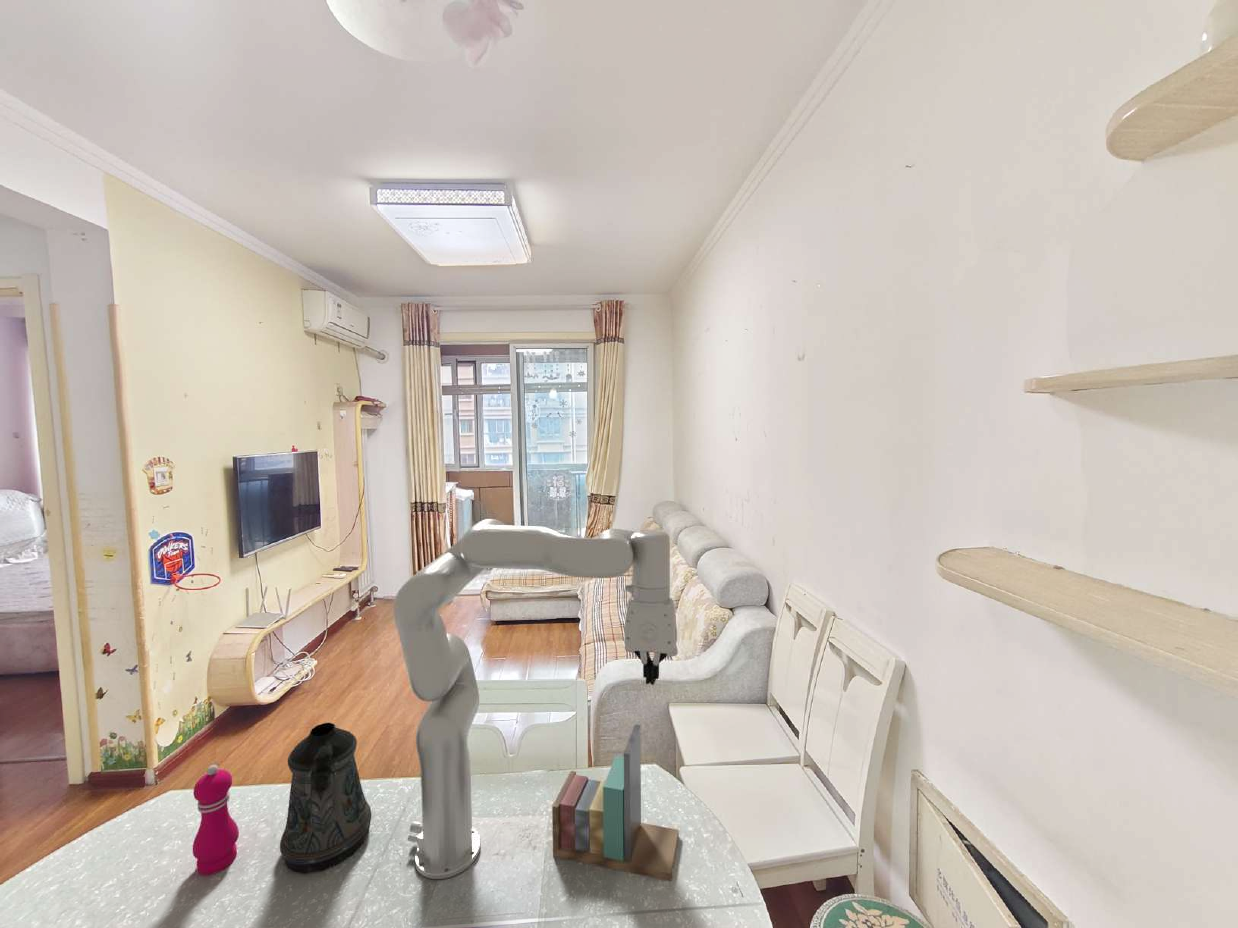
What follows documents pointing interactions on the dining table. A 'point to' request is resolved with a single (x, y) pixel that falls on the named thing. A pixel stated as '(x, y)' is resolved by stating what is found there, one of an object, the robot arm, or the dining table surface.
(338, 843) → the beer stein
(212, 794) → the pepper mill
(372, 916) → the dining table surface
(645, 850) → the book rack
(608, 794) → the loose book
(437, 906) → the dining table surface
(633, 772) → the bookend
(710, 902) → the dining table surface
